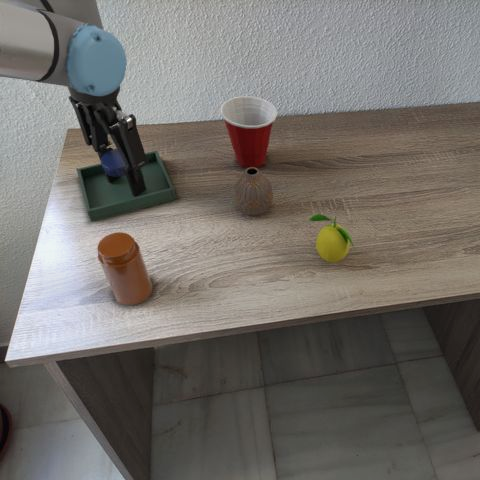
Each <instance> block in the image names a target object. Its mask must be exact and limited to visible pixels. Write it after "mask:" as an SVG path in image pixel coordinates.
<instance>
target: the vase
mask: <svg viewBox="0 0 480 480" xmlns="http://www.w3.org/2000/svg"><path fill="white" fill-rule="evenodd" d="M233 195H234V201H235V203H236V206H238V208H239V210H240V211H241V212H243V213H244V214H245V215H248V216H253V217H255V216H260V215H263V214H265V213H266V212H267V211H268V210H269V209H270V208H271V206H272V203H273V199H274V191H273V186H272V183H271V181H270V180H269V178H268V177H267V176H265V174H263V173H262V172H261V171H260V170H259V168H258V167H257V168H255V167H249V168H245V170H244V172H243V173H242V174H241V176H239V178H238V179H237V181H236V183H235V185H234V191H233Z"/></svg>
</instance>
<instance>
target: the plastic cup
mask: <svg viewBox="0 0 480 480" xmlns="http://www.w3.org/2000/svg"><path fill="white" fill-rule="evenodd" d="M219 108H220V116H221V117H222V118H223V121H224V124H225V127H226V129H227V132H228V136H229V139H230V143H231V146H232V150H233V151H234V154H235V158H236V162H238V164H239V165H240V166H241V167H243V168H245V169H247V168H249V167H255V168H257V169H258V168H259V167H262V166H263V165H264V164H265V162H266V159H267V153H268V149H269V145H270V137H271V134H272V133H271V132H272V128H273V124H274V122H275V120H276V118H277V117H278V110H277V106H275V105H274V104H273V103H272V102H271V101H269V100H266V99H264V98H261V97H257V96H252V95H240V96H236V97H231V98H229V99H227V100H226V101H224V102H223V103H222V104H221V106H220V107H219Z"/></svg>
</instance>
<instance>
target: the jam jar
mask: <svg viewBox="0 0 480 480" xmlns="http://www.w3.org/2000/svg"><path fill="white" fill-rule="evenodd" d="M97 259H98V262H99V264H100V266H101V268H102V271H103V273H104V275H105V277H106V280H107V282H108V284H109V286H110V289H111V291H112V293H113V295H114V298H115V299H116V301H117V302H118V303H120V304H121V305H125V306H134V305H135V306H136V305H139V304H141V303H143V302H144V301H146V300H147V299H148V298H149V297H150V296H151V295H152V292H153V287H154V286H153V283H152V280H151V277H150V274H149V272H148V269H147V266H146V262H145V260H144V257H143V255H142V251H141V248H140V246H139V243H137V242H136V240H135V238H134V237H133V236H132V235H131V234H129V233H126V232H120V231H119V232H118V231H117V232H112V233H110V234H108V235H105V236H104V237H103V238H101V240H100V241H99V242H98V243H97Z"/></svg>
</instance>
